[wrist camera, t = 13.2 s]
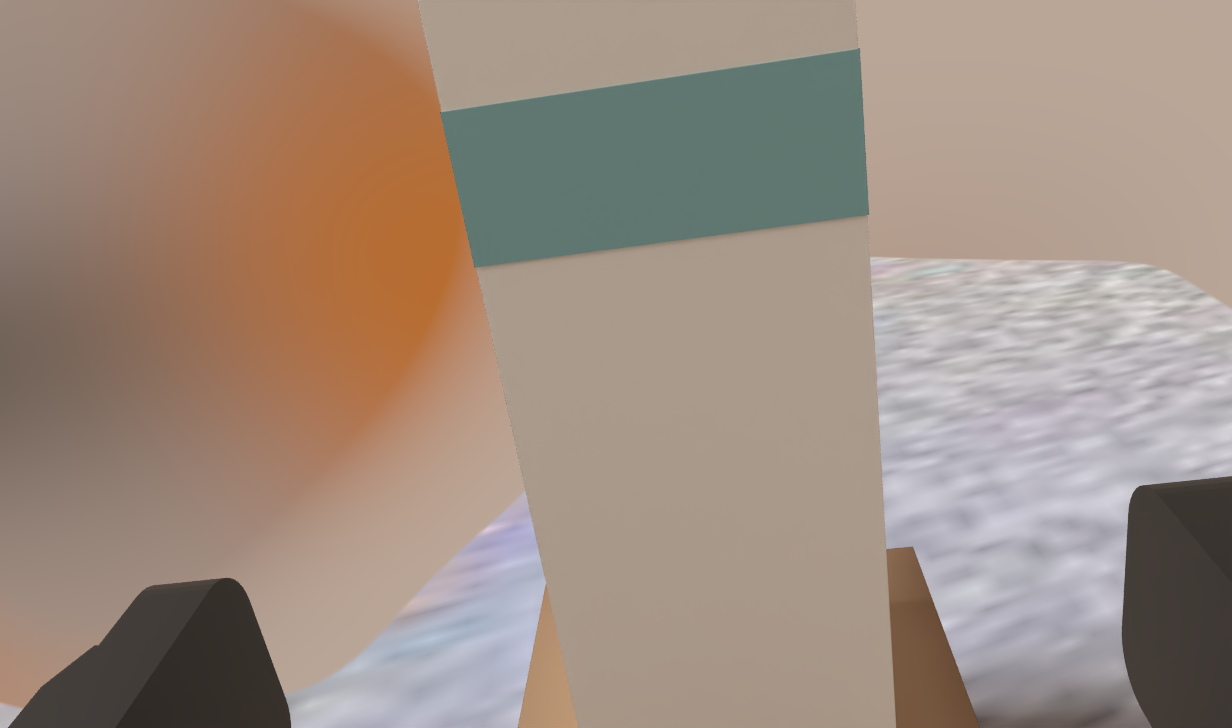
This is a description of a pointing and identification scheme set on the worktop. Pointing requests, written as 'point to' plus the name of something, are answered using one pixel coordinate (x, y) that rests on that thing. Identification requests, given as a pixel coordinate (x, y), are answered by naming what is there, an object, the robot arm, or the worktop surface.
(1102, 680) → the worktop surface
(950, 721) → the brown square block
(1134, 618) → the robot arm
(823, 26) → the milk carton
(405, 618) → the worktop surface
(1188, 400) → the worktop surface
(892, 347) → the worktop surface
